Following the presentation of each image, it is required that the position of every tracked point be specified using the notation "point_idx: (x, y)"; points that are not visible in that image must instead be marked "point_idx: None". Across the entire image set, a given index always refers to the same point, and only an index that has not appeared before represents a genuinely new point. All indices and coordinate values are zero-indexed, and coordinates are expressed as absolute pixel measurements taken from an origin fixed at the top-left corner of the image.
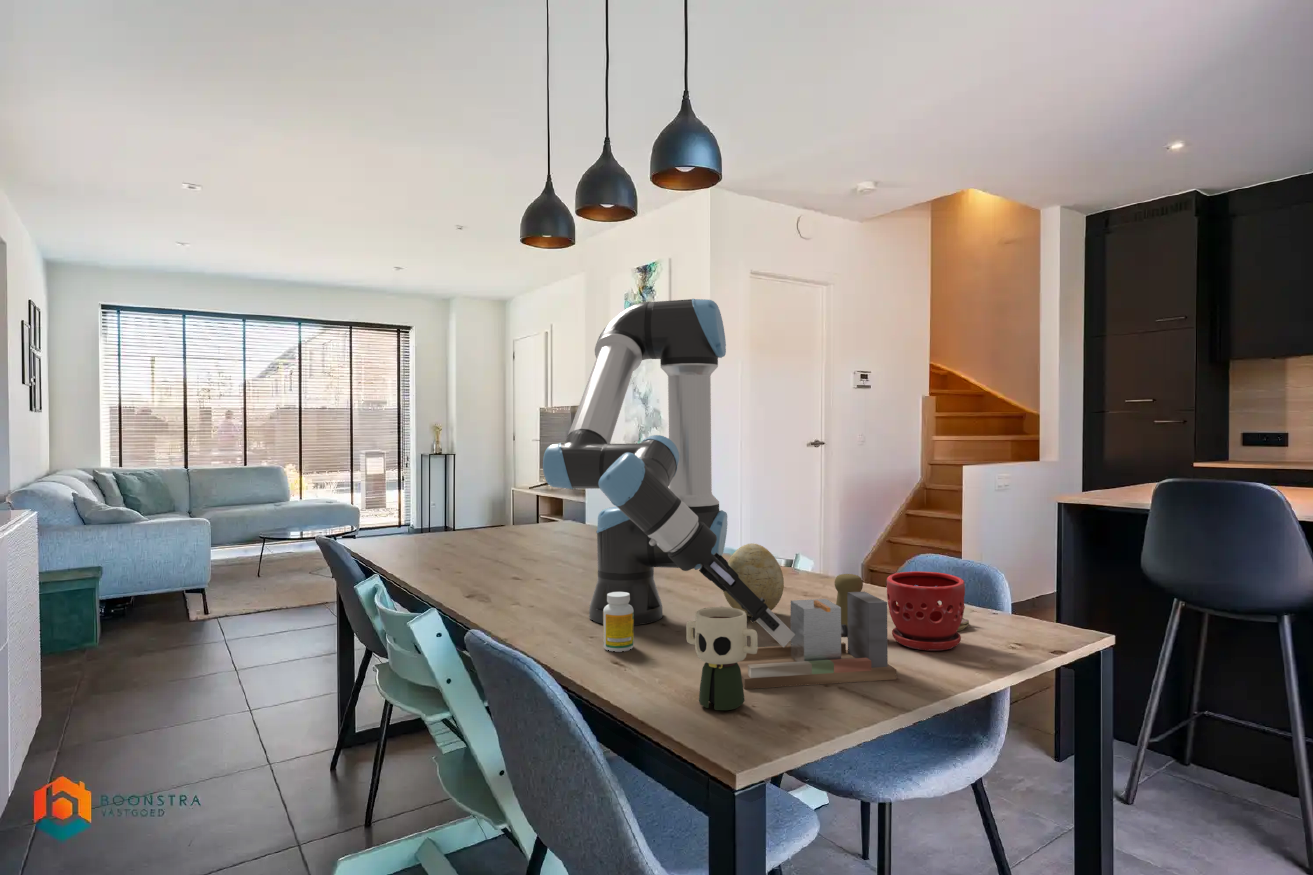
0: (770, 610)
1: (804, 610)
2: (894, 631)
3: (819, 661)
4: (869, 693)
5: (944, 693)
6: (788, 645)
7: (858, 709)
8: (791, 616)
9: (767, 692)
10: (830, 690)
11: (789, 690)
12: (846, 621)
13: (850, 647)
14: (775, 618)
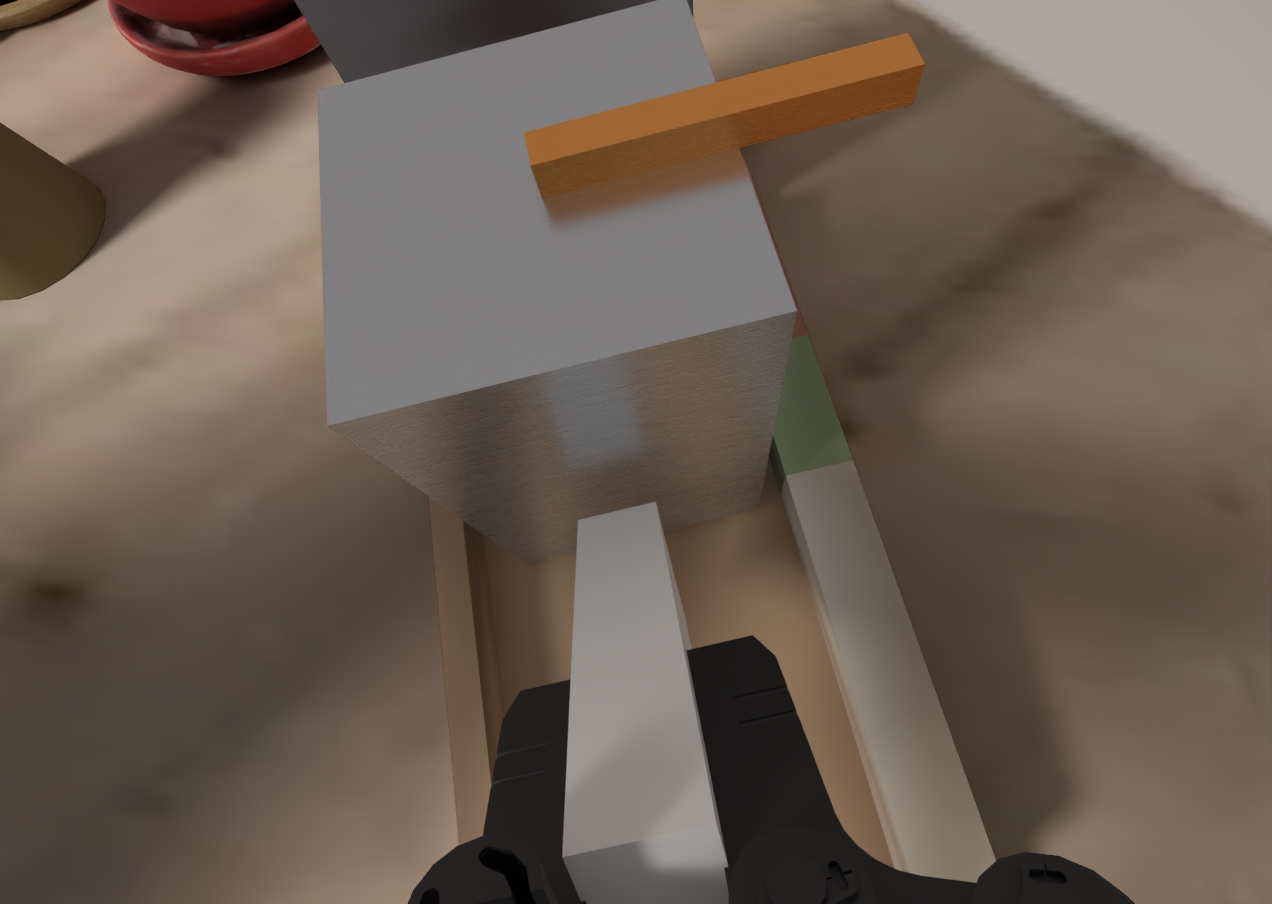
0: (699, 752)
1: (795, 314)
2: (179, 49)
3: (786, 409)
4: (927, 258)
5: (875, 18)
6: (437, 562)
7: (1176, 329)
8: (435, 480)
9: (1024, 783)
10: (916, 418)
11: (957, 635)
12: (9, 199)
13: None
14: (690, 677)
